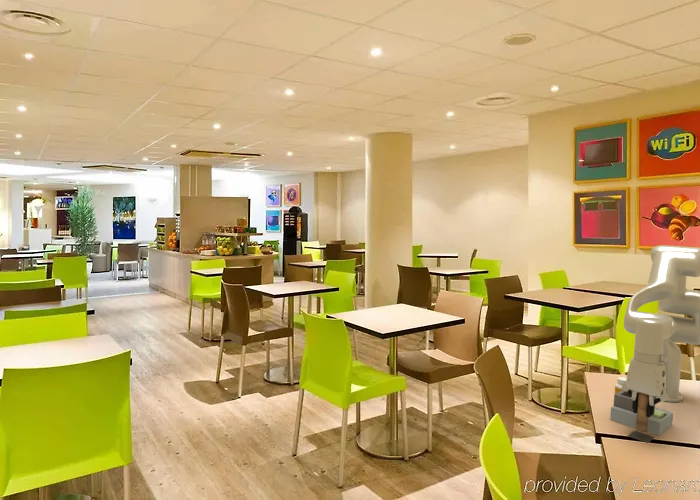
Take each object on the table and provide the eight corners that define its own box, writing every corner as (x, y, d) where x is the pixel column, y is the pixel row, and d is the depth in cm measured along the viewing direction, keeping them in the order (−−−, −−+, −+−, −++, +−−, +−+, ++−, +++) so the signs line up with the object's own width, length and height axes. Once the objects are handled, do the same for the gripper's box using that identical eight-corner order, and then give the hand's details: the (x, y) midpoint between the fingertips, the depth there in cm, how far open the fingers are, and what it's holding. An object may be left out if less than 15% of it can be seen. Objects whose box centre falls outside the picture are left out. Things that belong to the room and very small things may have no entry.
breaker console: (624, 412, 181) (626, 387, 180) (672, 426, 170) (674, 400, 169) (610, 421, 173) (611, 395, 172) (658, 437, 162) (661, 410, 161)
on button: (648, 421, 172) (649, 407, 171) (663, 426, 168) (664, 412, 168) (642, 425, 169) (644, 411, 168) (658, 430, 165) (659, 415, 165)
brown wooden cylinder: (637, 426, 163) (641, 384, 162) (648, 430, 161) (652, 387, 159) (634, 429, 161) (637, 386, 160) (645, 432, 159) (648, 389, 157)
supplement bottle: (618, 400, 192) (620, 375, 191) (633, 405, 187) (635, 379, 187) (610, 403, 189) (612, 377, 188) (625, 408, 185) (627, 382, 184)
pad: (634, 432, 166) (634, 430, 166) (654, 438, 161) (655, 437, 161) (627, 437, 162) (627, 435, 162) (647, 444, 157) (647, 442, 157)
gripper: (681, 361, 155) (676, 420, 157) (624, 349, 167) (620, 403, 169) (673, 366, 150) (667, 426, 152) (614, 353, 162) (610, 408, 164)
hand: (642, 413), depth 160 cm, fingers closed on brown wooden cylinder, 3 cm apart
